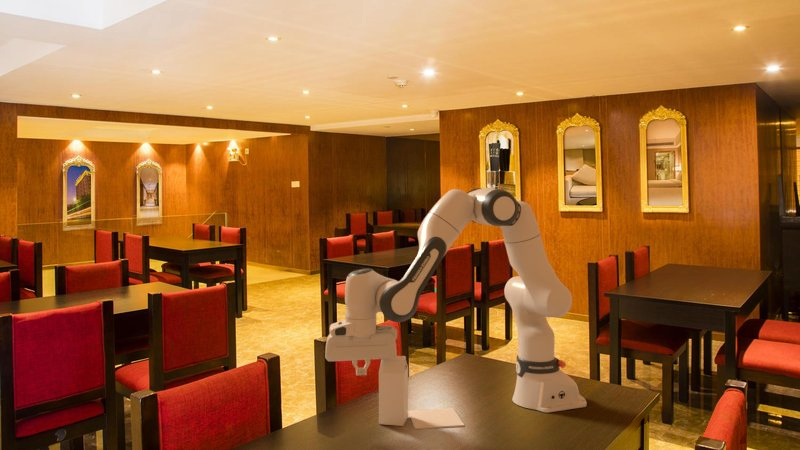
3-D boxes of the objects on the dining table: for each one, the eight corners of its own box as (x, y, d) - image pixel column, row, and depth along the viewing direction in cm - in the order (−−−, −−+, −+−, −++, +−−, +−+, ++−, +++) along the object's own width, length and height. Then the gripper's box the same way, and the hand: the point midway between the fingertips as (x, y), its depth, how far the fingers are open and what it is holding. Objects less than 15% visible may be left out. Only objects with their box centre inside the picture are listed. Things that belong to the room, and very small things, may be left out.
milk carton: (403, 426, 163) (403, 359, 162) (378, 424, 165) (378, 358, 164) (408, 417, 170) (408, 353, 169) (384, 415, 172) (384, 351, 171)
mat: (453, 409, 176) (453, 407, 176) (464, 426, 164) (464, 424, 164) (407, 411, 174) (407, 410, 174) (415, 429, 161) (415, 427, 161)
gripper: (395, 322, 169) (395, 369, 170) (324, 325, 166) (325, 373, 167) (398, 327, 163) (399, 376, 164) (325, 330, 160) (325, 380, 161)
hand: (361, 374), depth 165 cm, fingers closed
